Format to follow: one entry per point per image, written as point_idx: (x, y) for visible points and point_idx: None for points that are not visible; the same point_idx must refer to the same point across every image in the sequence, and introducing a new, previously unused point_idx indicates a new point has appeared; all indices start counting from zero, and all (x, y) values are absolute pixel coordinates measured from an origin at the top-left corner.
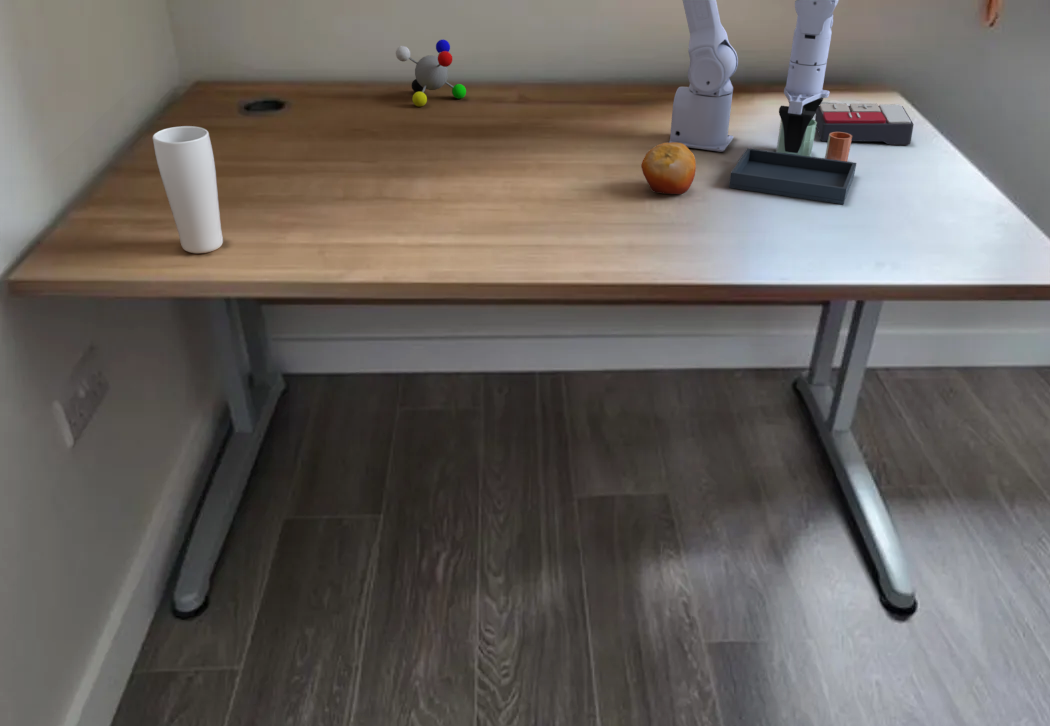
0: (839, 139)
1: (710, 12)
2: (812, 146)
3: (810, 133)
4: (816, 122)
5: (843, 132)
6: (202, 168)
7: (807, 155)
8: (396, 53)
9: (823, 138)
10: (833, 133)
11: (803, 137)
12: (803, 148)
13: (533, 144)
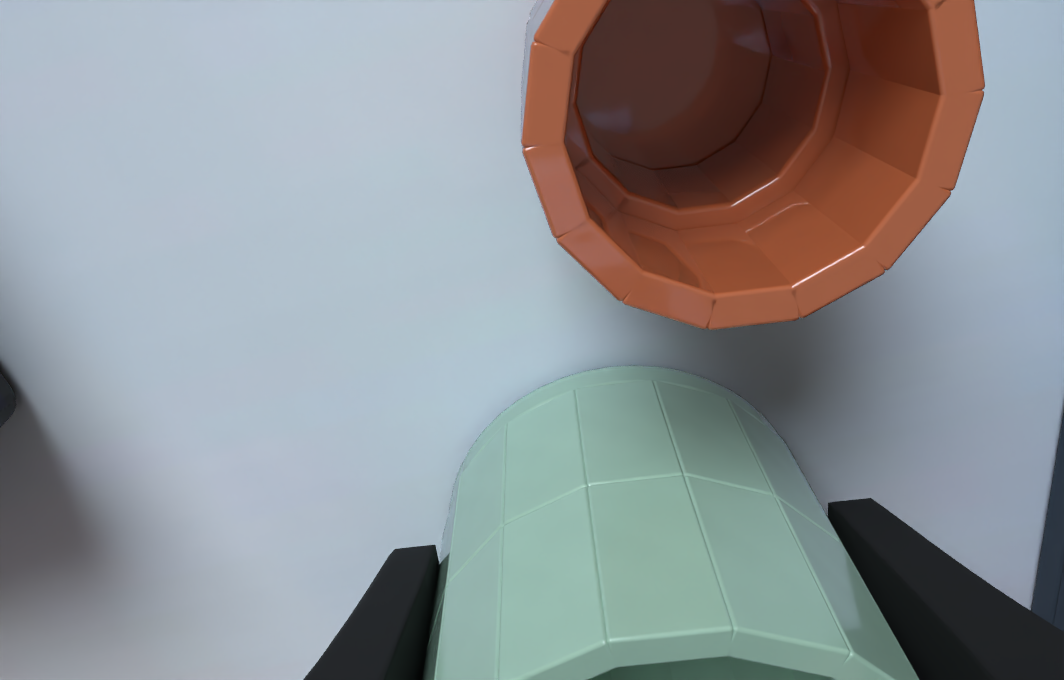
0: (980, 78)
1: None
2: (642, 422)
3: (820, 569)
4: (617, 648)
5: (540, 116)
6: None
7: (728, 397)
8: None
9: (1, 407)
10: (660, 273)
11: (952, 596)
12: (809, 485)
13: None
